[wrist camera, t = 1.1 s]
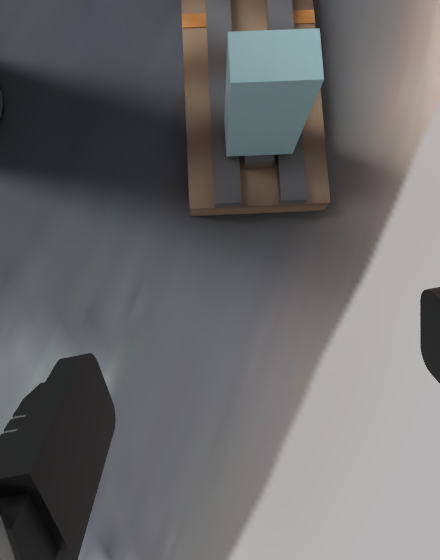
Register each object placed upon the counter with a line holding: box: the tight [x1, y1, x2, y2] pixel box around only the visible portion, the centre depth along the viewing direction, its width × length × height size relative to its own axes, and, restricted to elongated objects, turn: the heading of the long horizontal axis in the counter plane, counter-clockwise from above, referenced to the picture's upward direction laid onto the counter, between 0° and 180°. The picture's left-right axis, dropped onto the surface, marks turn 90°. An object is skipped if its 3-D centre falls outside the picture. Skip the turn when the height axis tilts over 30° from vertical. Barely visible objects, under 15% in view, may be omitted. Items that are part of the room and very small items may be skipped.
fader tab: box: [224, 28, 324, 169], centre depth 27 cm, size 4×5×10 cm
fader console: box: [181, 0, 330, 216], centre depth 33 cm, size 22×11×3 cm, turn 3°
